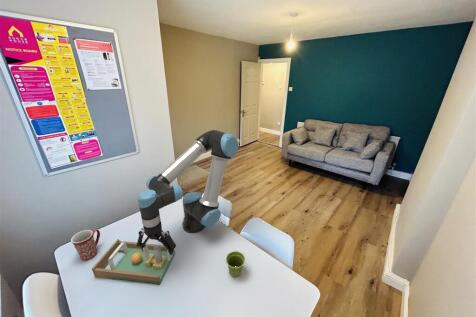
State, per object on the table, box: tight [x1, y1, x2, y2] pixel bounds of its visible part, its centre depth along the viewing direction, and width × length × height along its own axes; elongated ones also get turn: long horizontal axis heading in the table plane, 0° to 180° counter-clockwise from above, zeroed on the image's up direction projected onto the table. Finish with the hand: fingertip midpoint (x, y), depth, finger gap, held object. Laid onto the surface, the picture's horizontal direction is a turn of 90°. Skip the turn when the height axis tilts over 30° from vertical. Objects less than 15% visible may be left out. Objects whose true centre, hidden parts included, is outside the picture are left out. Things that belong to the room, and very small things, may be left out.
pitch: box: [91, 239, 176, 286], centre depth 98 cm, size 32×18×9 cm, turn 84°
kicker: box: [145, 244, 166, 269], centre depth 96 cm, size 8×6×11 cm
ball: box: [131, 253, 142, 264], centre depth 98 cm, size 5×5×5 cm
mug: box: [70, 228, 101, 261], centre depth 104 cm, size 13×9×14 cm
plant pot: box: [225, 250, 246, 278], centre depth 96 cm, size 9×9×9 cm
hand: (158, 257), depth 96 cm, fingers open, 11 cm apart
